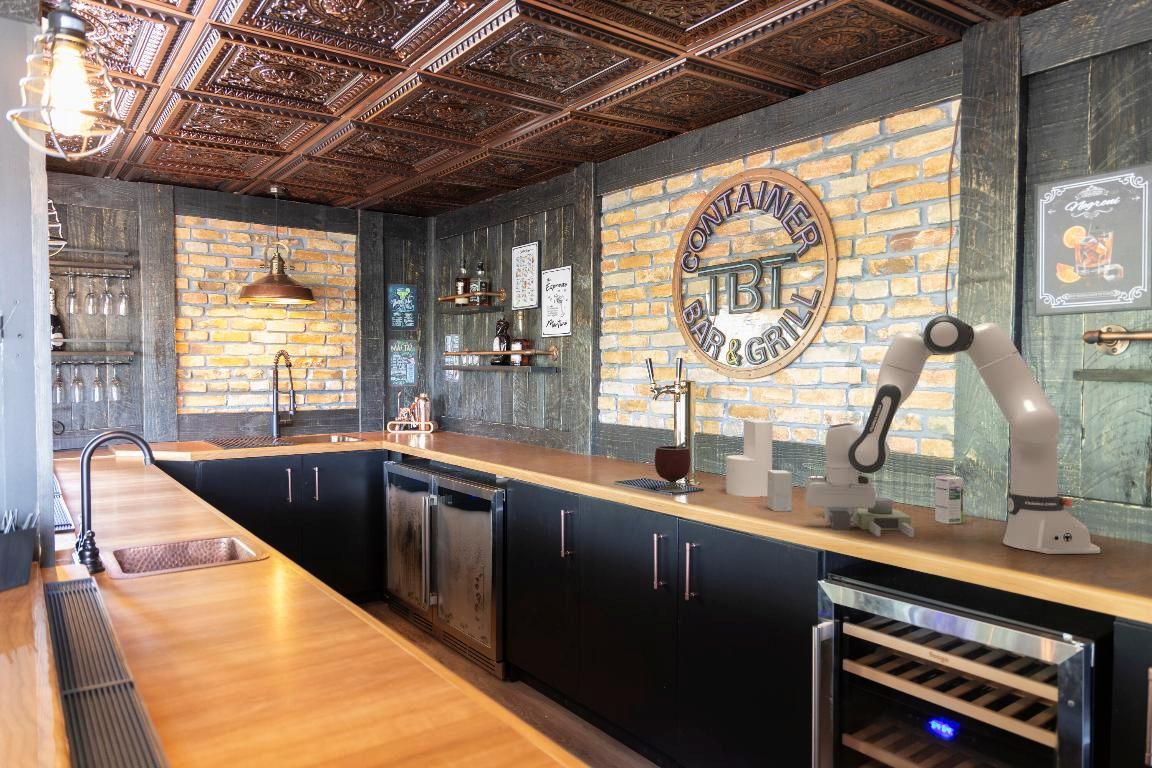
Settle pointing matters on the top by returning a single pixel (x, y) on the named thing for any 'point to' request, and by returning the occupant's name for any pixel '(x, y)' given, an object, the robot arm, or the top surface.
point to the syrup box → (949, 499)
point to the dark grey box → (840, 520)
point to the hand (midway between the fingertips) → (839, 521)
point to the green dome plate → (883, 518)
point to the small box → (779, 490)
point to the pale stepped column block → (751, 461)
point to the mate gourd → (672, 465)
